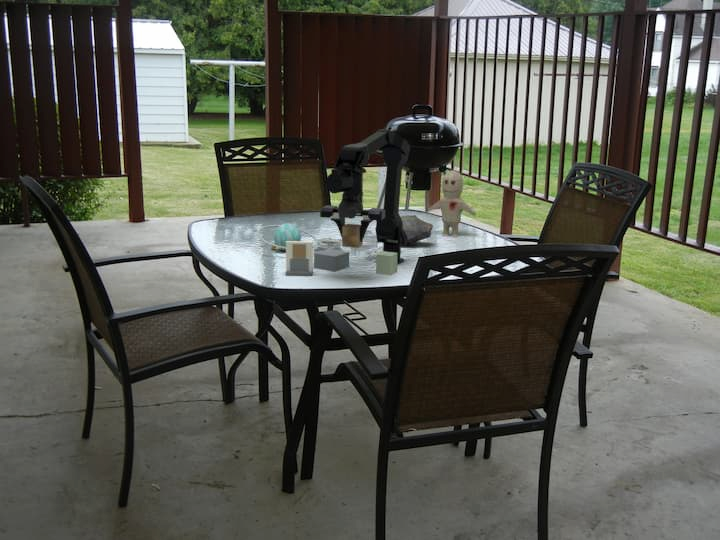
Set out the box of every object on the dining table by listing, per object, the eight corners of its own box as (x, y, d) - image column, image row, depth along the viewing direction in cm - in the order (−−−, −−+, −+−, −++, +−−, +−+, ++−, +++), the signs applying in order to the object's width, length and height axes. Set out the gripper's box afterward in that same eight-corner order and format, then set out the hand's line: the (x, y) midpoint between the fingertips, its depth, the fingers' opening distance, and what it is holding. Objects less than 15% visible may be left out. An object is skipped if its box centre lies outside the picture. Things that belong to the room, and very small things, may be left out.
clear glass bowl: (314, 217, 274) (259, 226, 274) (312, 218, 254) (253, 228, 254) (319, 245, 275) (263, 254, 275) (318, 248, 255) (258, 258, 255)
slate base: (328, 263, 249) (328, 248, 248) (349, 267, 245) (349, 251, 244) (314, 268, 243) (314, 253, 242) (334, 272, 239) (335, 256, 237)
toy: (424, 234, 296) (426, 169, 289) (431, 231, 302) (433, 167, 296) (470, 239, 288) (473, 172, 282) (476, 236, 295) (479, 170, 288)
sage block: (382, 269, 242) (382, 251, 240) (397, 271, 240) (397, 252, 238) (375, 273, 237) (376, 254, 236) (390, 275, 235) (391, 256, 234)
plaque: (313, 271, 238) (312, 240, 235) (312, 275, 233) (312, 243, 230) (287, 271, 238) (286, 239, 235) (285, 275, 233) (285, 243, 230)
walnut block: (342, 246, 228) (342, 226, 227) (346, 243, 233) (346, 223, 232) (358, 247, 227) (358, 227, 226) (362, 244, 232) (362, 224, 231)
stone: (429, 209, 284) (432, 216, 269) (432, 237, 286) (436, 245, 272) (381, 215, 284) (382, 222, 270) (385, 243, 287) (386, 251, 272)
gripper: (314, 191, 221) (314, 244, 225) (377, 194, 216) (376, 249, 220) (325, 186, 231) (325, 237, 235) (386, 189, 227) (385, 241, 231)
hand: (352, 241), depth 230 cm, fingers closed on walnut block, 5 cm apart
